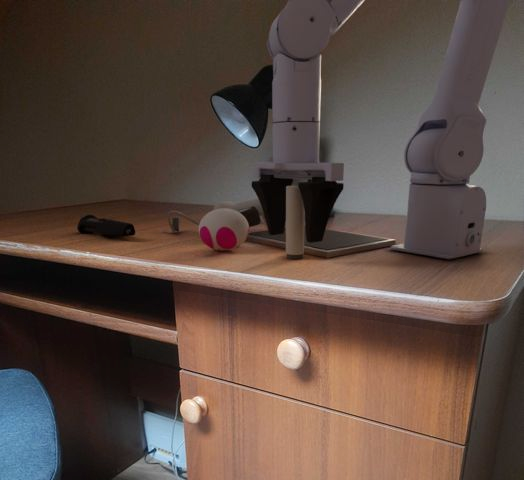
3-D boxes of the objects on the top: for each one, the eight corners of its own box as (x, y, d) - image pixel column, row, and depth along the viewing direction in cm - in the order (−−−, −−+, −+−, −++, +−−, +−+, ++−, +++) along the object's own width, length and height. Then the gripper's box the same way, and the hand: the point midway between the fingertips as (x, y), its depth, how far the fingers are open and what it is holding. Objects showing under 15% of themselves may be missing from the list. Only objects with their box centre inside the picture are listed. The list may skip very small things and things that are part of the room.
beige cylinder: (307, 257, 65) (309, 186, 62) (294, 260, 64) (294, 187, 60) (295, 255, 67) (296, 185, 63) (282, 257, 65) (282, 186, 62)
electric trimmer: (121, 244, 78) (118, 223, 77) (76, 233, 88) (73, 214, 87) (141, 241, 80) (140, 221, 79) (95, 230, 90) (93, 212, 89)
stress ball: (197, 272, 72) (178, 239, 67) (218, 234, 76) (201, 199, 71) (243, 275, 69) (227, 240, 64) (262, 235, 73) (248, 198, 68)
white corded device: (161, 255, 83) (262, 234, 77) (148, 218, 80) (251, 193, 75) (186, 237, 93) (276, 217, 87) (175, 203, 90) (267, 180, 85)
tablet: (395, 245, 73) (396, 238, 72) (327, 258, 65) (327, 251, 64) (304, 230, 87) (304, 224, 87) (239, 239, 79) (239, 233, 79)
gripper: (234, 125, 62) (237, 234, 67) (313, 119, 52) (309, 249, 57) (277, 126, 66) (277, 229, 71) (359, 120, 56) (352, 242, 61)
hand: (294, 237), depth 64 cm, fingers open, 7 cm apart
